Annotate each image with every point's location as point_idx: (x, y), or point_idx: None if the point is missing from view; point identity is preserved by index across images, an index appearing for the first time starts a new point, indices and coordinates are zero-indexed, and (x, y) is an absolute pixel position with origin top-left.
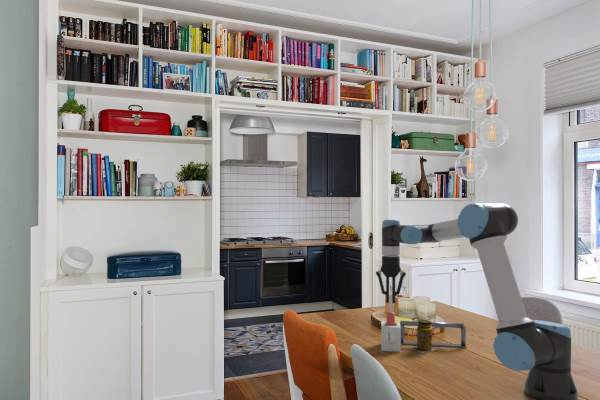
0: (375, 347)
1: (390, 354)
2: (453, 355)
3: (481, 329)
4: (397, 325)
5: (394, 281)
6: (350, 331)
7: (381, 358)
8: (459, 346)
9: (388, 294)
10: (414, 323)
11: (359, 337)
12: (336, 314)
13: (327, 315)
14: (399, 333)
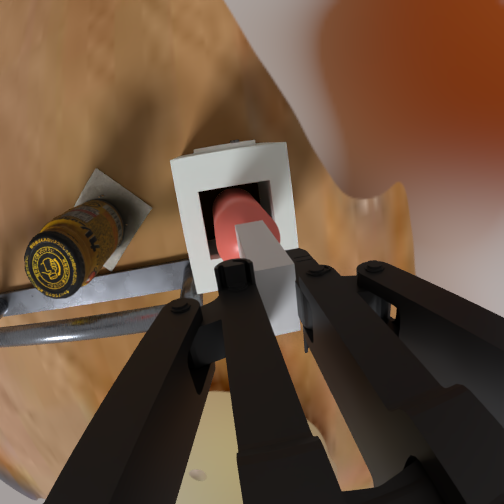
0: None
1: (217, 105)
2: (6, 192)
3: (37, 454)
4: (196, 205)
5: (252, 424)
6: None
7: (246, 47)
8: (8, 292)
9: (305, 273)
10: (125, 313)
11: None
12: None
13: None
14: (180, 157)
